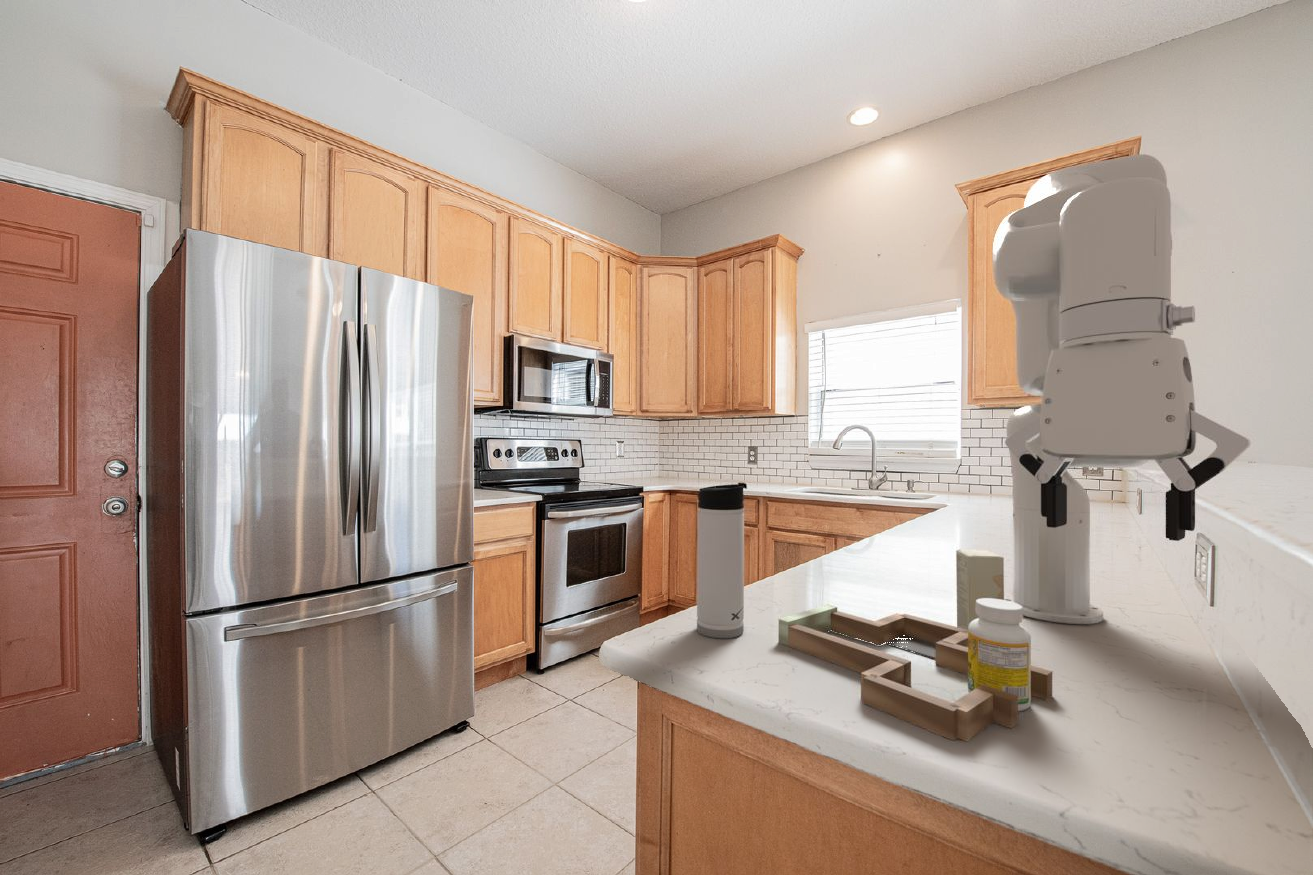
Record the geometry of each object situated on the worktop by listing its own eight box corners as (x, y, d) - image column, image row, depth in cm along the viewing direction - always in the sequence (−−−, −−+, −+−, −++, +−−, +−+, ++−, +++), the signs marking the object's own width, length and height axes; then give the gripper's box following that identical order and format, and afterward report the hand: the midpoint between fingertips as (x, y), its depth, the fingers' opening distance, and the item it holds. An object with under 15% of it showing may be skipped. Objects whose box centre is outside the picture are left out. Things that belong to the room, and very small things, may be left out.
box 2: (1005, 644, 70) (1005, 557, 71) (968, 641, 71) (968, 555, 71) (989, 630, 76) (989, 549, 76) (955, 628, 76) (955, 548, 77)
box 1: (853, 617, 81) (853, 596, 81) (1072, 679, 60) (1072, 652, 60) (744, 653, 67) (744, 628, 67) (981, 752, 46) (981, 715, 46)
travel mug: (749, 639, 72) (750, 484, 72) (698, 638, 72) (699, 484, 72) (742, 623, 78) (743, 481, 78) (695, 623, 78) (696, 481, 78)
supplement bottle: (1022, 718, 51) (1022, 615, 52) (959, 699, 55) (960, 602, 55) (1037, 700, 55) (1037, 603, 55) (977, 683, 59) (977, 593, 59)
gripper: (1264, 319, 44) (1265, 542, 44) (1016, 348, 58) (1016, 517, 57) (1252, 304, 39) (1252, 553, 39) (986, 339, 53) (985, 523, 53)
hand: (1112, 530), depth 48 cm, fingers open, 7 cm apart
